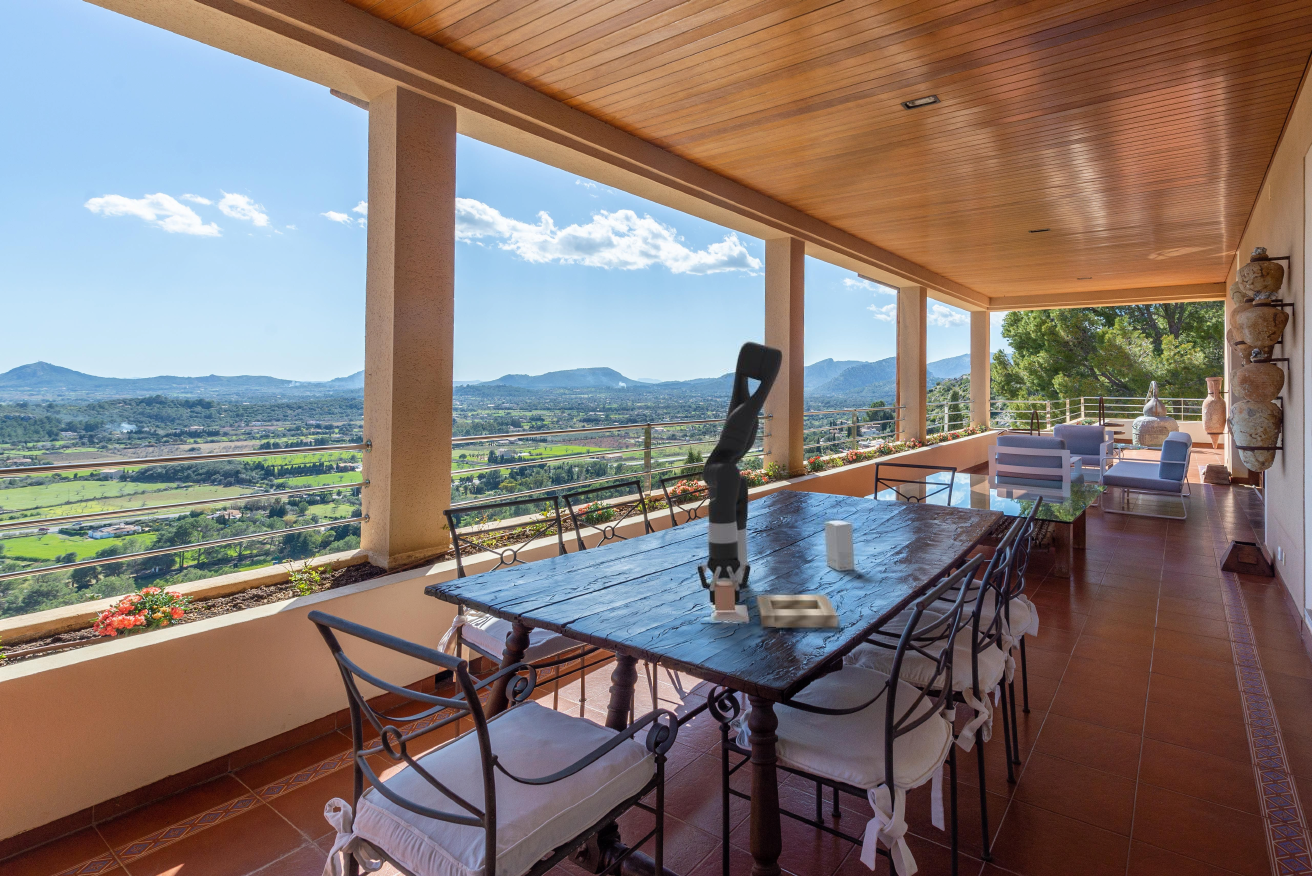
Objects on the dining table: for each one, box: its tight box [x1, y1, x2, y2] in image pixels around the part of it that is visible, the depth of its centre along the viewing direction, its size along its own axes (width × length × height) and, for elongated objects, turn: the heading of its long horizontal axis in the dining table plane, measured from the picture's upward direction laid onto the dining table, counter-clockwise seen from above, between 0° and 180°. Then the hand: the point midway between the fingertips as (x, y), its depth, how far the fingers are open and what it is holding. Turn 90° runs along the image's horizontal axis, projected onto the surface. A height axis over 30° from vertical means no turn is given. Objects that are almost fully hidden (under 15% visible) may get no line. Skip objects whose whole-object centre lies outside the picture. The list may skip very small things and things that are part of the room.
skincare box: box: [824, 519, 855, 572], centre depth 207 cm, size 8×6×15 cm
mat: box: [709, 604, 750, 624], centre depth 166 cm, size 12×12×1 cm
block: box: [714, 582, 735, 611], centre depth 165 cm, size 5×5×6 cm
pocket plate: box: [756, 594, 839, 628], centre depth 163 cm, size 18×16×3 cm
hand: (724, 603), depth 166 cm, fingers closed on block, 5 cm apart
